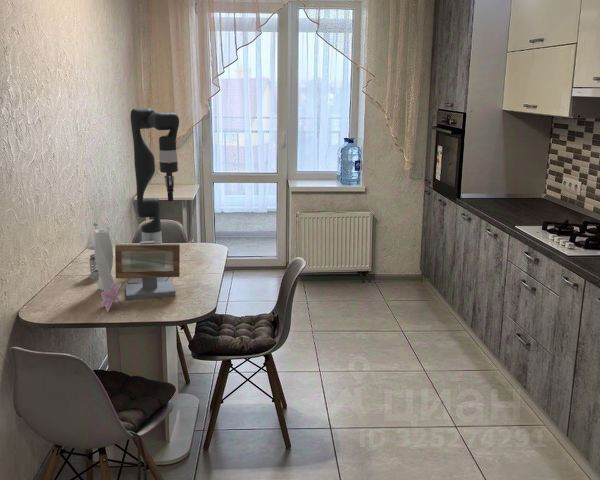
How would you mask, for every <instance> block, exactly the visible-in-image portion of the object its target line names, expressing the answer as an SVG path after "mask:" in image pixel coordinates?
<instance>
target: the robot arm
mask: <svg viewBox="0 0 600 480" xmlns="http://www.w3.org/2000/svg"><path fill="white" fill-rule="evenodd" d="M129 117H130V126H131V133H132V140H133V155H134V157H133V158H134V160H133V161H134V171H135V181H136V184H135V185H136V211H137V212H136V213H137V215H138V217H139V218H143V219H144V218H145V219H146V218H153V219H152V220H151V221H148V222H147V223H144V224H143V225H141V227H140V228H141V229H140V230H141V242H144V241H155V244H163V238H162V223H161V202H160V199H159V198H157V197H144V194H145V191H146V190H147V187H148V185H149V183H150V182H151V180H152V178H153V176H154V175H155V172H156V163H155V161H156V160H155V155H154V154H153V151H151V149H150V147H148V145H147V144H146V142H145V140H144V138H143V136H142V132H141V130H145V129H146V130H147V129H153V128H154V129H156V131H169V132H168V133H167V134H166V135H162V136H160V137H159V138H158V144H159V145H158V146H159V147H158V148H159V154H158V156H159V159H158V160H159V161H158V162H159V171H160V172H161V173H165V175H164V181H165V187H166V192H167V201H168V202H173V201H174V191H175V190H174V187H175V176H174V175H173V173H178V171H179V168H178V165H179V164H178V163H179V162H178V152H177V136H178V135H177V134H178V130H179V126H180V118H179V115H178V114H177V113H175V112H161V111H160V112H159V111H156V110H154V109H152V108H149V107H148V108H145V107H144V108H132V109H131V111H130V116H129Z"/></svg>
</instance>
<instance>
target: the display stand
mask: <svg viewBox="0 0 600 480" xmlns="http://www.w3.org/2000/svg"><path fill="white" fill-rule="evenodd" d="M139 244H155V241H144V242H142V241H139ZM169 296H170V297H171V296H176V288H175V284H174V281H173V280H167V281H164V282H157V278H142V283H139V284H127V283H126V284H125V299H126V300H135V299H136V300H138V299H146V298H147V299H149V298H158V297H159V298H162V297H169Z"/></svg>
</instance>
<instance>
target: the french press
mask: <svg viewBox="0 0 600 480" xmlns="http://www.w3.org/2000/svg"><path fill="white" fill-rule="evenodd" d="M93 226H94V227H95V228H97V226H98V222H94V223H93ZM87 249H88V250H90V251H94V243H93V244H90V245H89V246H88V247H87ZM89 257H90V258H89V259H88V261H89V267H90V268H89V269H90V270H89V272H90V274H88V278H89V279H92V280H93V279H96V280H99V272H98V269H97V265H96V260H95V253H92V254H90V255H89Z"/></svg>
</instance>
